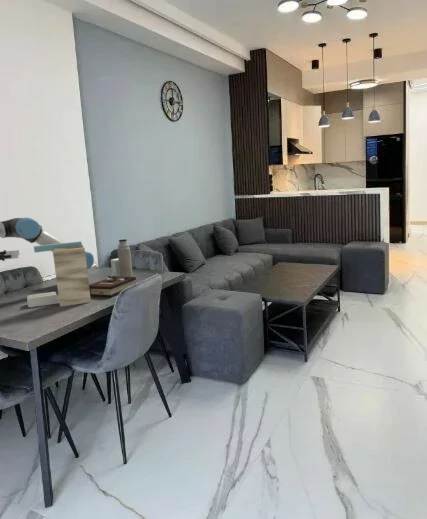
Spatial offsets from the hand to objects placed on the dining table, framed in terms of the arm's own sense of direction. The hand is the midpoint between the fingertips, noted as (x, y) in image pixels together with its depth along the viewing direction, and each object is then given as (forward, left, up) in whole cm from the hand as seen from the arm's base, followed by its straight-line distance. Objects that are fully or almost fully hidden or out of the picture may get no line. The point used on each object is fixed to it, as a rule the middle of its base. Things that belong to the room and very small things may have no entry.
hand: (18, 254), depth 238 cm
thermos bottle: (-24, +60, -29) cm, 71 cm away
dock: (+2, +9, -29) cm, 30 cm away
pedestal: (+10, +25, -29) cm, 40 cm away
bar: (+10, +20, +1) cm, 23 cm away
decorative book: (-3, +48, -29) cm, 56 cm away
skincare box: (-33, +57, -29) cm, 72 cm away
